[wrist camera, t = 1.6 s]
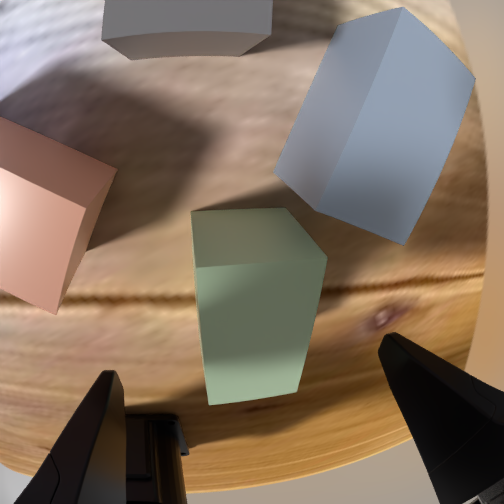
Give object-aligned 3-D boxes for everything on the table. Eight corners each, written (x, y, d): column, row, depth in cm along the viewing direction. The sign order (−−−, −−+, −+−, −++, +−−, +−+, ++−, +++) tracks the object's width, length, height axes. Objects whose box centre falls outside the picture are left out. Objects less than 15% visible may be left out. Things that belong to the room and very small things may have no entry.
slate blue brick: (347, 201, 12) (403, 245, 9) (272, 171, 11) (315, 210, 7) (403, 72, 10) (475, 78, 6) (336, 25, 8) (403, 6, 5)
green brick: (271, 328, 15) (296, 391, 11) (199, 336, 14) (208, 405, 11) (284, 206, 12) (327, 257, 8) (190, 210, 11) (195, 267, 8)
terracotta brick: (118, 168, 10) (86, 208, 6) (86, 250, 11) (56, 315, 7) (-11, 110, 7) (-77, 127, 3) (-31, 192, 8) (-86, 233, 5)
